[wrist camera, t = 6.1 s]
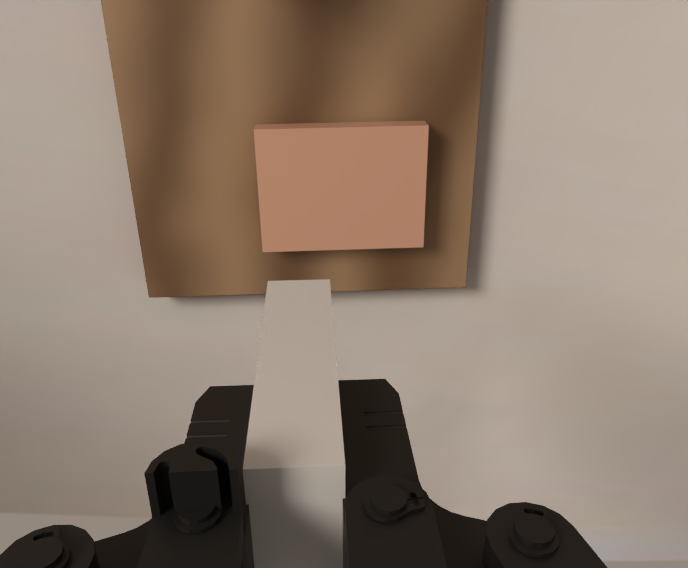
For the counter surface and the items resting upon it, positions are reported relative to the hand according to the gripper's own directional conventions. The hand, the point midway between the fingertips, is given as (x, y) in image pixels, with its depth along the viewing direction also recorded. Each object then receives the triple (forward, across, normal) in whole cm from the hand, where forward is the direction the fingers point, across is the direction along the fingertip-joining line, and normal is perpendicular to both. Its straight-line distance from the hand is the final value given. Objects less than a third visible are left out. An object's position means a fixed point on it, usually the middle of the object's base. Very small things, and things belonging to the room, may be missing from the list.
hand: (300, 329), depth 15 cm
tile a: (+16, -2, -1) cm, 16 cm away
